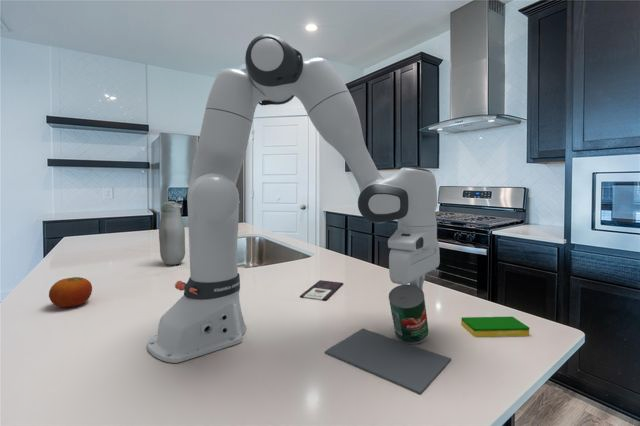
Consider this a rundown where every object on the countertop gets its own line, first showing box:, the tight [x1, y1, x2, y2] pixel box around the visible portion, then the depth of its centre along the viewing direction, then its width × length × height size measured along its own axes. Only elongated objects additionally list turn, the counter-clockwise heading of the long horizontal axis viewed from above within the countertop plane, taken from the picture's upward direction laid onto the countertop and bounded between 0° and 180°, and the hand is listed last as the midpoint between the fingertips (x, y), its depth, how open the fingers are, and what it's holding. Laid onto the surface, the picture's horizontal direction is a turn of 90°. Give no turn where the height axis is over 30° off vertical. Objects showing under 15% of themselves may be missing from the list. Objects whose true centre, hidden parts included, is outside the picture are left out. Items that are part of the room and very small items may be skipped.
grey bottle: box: [158, 200, 186, 266], centre depth 149 cm, size 10×10×28 cm
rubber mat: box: [324, 328, 452, 395], centre depth 73 cm, size 15×22×1 cm
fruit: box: [48, 276, 93, 308], centre depth 102 cm, size 11×10×8 cm
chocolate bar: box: [299, 279, 344, 302], centre depth 116 cm, size 9×1×18 cm
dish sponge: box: [460, 316, 530, 338], centre depth 86 cm, size 7×14×2 cm, turn 92°
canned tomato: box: [388, 283, 430, 345], centre depth 79 cm, size 8×8×11 cm
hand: (416, 293), depth 82 cm, fingers closed
